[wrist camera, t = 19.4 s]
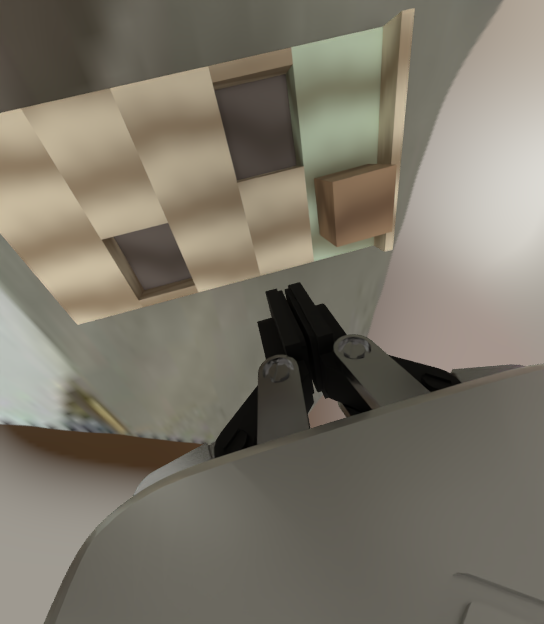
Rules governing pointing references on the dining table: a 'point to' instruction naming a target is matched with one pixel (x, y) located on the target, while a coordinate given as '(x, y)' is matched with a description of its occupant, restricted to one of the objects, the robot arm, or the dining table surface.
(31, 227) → the trap deck
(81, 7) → the dining table surface
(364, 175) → the walnut block
